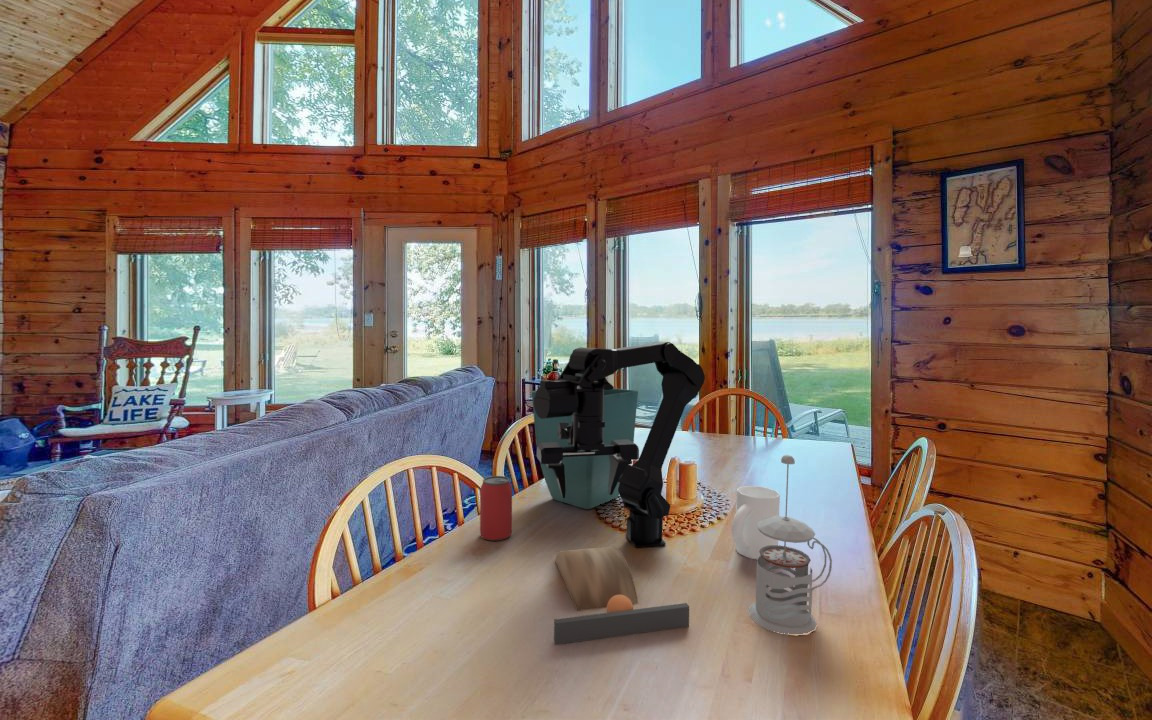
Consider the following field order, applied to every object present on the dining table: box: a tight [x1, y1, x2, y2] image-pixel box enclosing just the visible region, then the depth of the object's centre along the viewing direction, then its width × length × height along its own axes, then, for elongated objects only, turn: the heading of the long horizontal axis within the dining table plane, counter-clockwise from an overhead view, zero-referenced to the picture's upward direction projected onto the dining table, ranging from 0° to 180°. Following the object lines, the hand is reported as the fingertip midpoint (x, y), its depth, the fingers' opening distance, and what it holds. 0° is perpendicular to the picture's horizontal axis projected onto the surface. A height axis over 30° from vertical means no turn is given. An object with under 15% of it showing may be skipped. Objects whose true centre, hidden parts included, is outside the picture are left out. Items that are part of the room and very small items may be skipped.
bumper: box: [553, 602, 690, 645], centre depth 72 cm, size 20×1×3 cm, turn 104°
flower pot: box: [531, 386, 639, 510], centre depth 129 cm, size 20×20×28 cm
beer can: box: [479, 475, 513, 542], centre depth 105 cm, size 7×7×12 cm
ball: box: [606, 595, 635, 613], centre depth 74 cm, size 4×4×4 cm
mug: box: [731, 485, 781, 561], centre depth 98 cm, size 8×12×12 cm
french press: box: [748, 454, 833, 634], centre depth 76 cm, size 10×12×25 cm
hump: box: [554, 546, 639, 612], centre depth 87 cm, size 10×22×22 cm, turn 14°
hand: (587, 495), depth 95 cm, fingers open, 9 cm apart
